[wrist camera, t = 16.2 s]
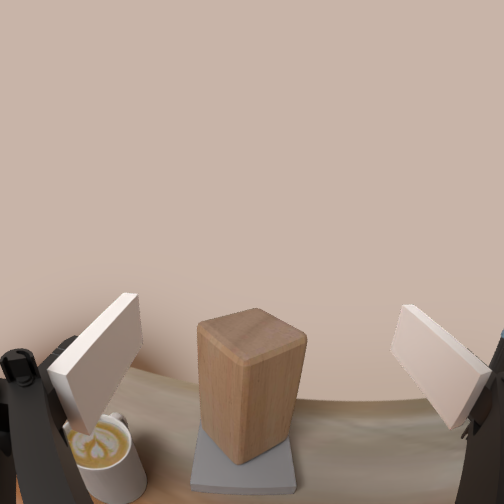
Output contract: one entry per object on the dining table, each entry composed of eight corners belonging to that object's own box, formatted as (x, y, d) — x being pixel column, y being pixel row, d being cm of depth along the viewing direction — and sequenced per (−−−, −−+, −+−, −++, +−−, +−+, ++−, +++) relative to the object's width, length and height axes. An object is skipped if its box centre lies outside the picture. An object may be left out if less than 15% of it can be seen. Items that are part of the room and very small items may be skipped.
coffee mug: (129, 515, 21) (106, 483, 18) (71, 483, 22) (44, 444, 20) (166, 454, 33) (157, 413, 31) (113, 433, 35) (99, 390, 33)
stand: (283, 428, 41) (285, 419, 41) (293, 493, 28) (296, 486, 27) (201, 425, 41) (201, 416, 40) (191, 490, 27) (190, 483, 27)
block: (199, 428, 38) (193, 319, 33) (249, 406, 44) (257, 304, 39) (236, 469, 30) (243, 360, 26) (289, 439, 36) (312, 332, 32)
